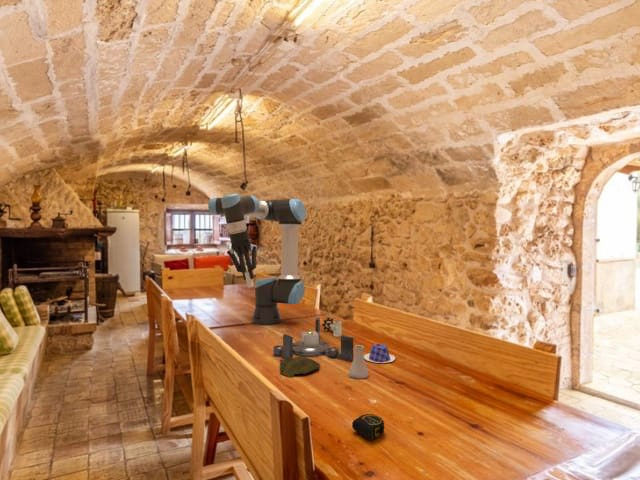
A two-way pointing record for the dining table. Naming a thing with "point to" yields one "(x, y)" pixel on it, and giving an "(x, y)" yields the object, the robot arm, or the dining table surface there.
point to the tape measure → (369, 426)
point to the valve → (333, 327)
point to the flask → (358, 364)
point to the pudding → (379, 354)
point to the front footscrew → (285, 348)
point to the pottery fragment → (297, 366)
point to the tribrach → (322, 345)
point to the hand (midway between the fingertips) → (250, 286)
